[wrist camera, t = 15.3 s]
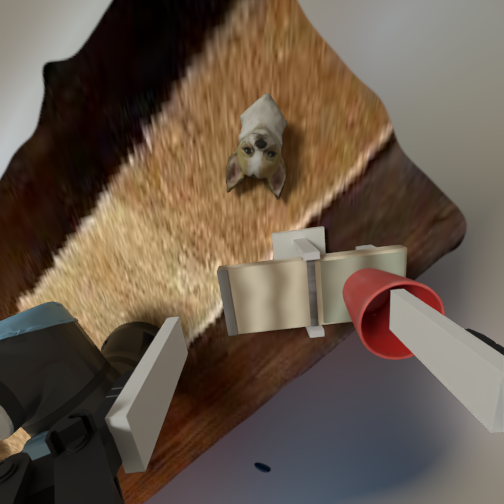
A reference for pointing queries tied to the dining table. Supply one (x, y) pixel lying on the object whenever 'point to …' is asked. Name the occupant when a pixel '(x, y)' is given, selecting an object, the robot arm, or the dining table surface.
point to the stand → (303, 253)
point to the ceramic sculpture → (259, 147)
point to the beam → (297, 288)
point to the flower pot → (381, 308)
